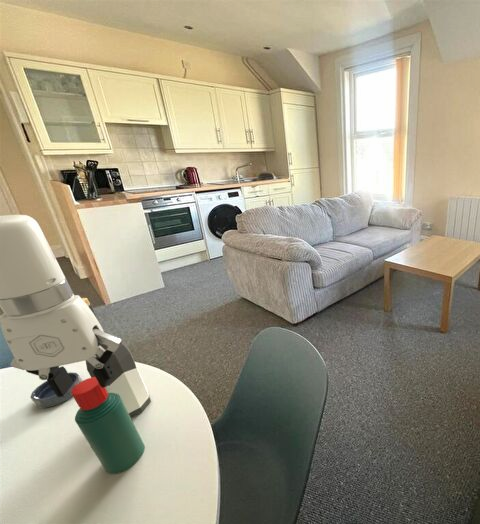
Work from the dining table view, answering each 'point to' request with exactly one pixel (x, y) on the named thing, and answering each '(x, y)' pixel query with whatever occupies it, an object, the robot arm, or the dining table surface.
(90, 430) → the water bottle
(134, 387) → the wine bottle
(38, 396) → the dish
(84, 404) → the cap
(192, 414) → the dining table surface
